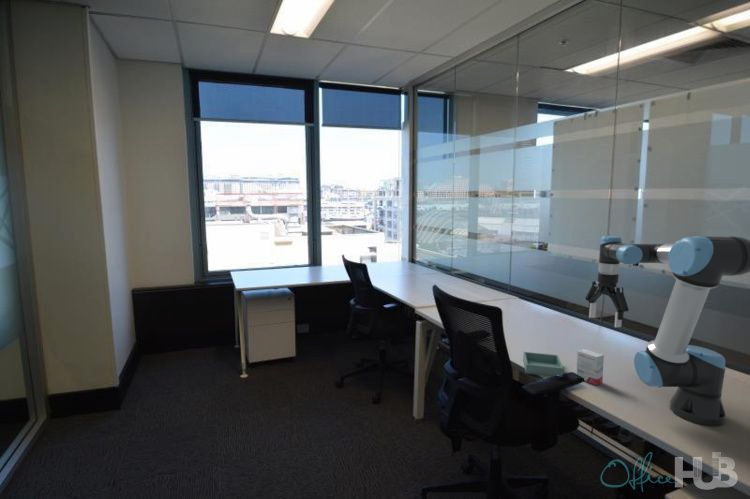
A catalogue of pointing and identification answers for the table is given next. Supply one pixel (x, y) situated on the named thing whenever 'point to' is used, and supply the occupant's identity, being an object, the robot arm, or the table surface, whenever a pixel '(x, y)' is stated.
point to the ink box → (590, 366)
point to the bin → (542, 364)
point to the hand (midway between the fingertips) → (604, 322)
